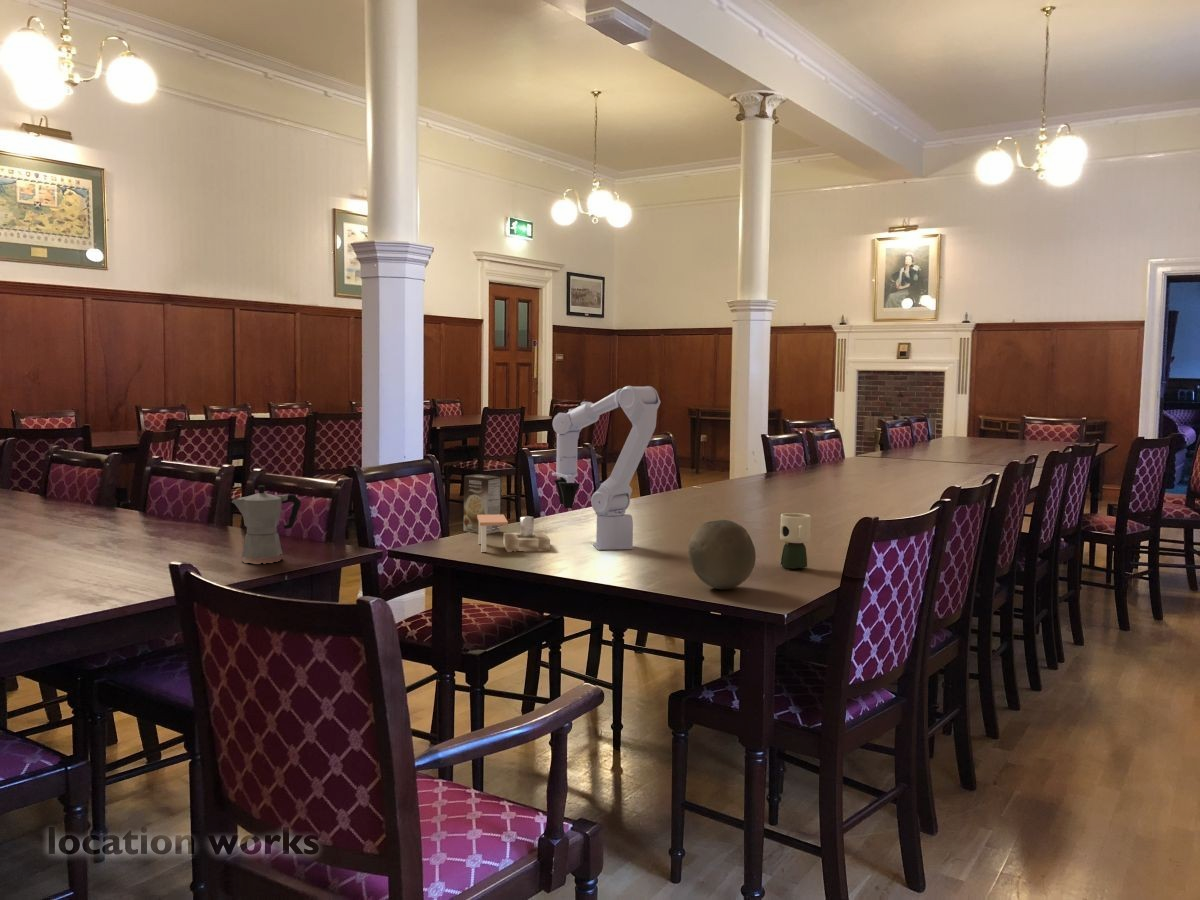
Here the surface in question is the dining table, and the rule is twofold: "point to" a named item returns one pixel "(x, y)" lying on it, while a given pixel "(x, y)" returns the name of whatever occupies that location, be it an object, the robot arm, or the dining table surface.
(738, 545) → the cantaloupe
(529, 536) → the peg
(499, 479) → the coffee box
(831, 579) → the dining table surface
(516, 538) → the socket block
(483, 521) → the peach and white stand
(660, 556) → the dining table surface
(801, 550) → the character mug
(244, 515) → the coffeepot
